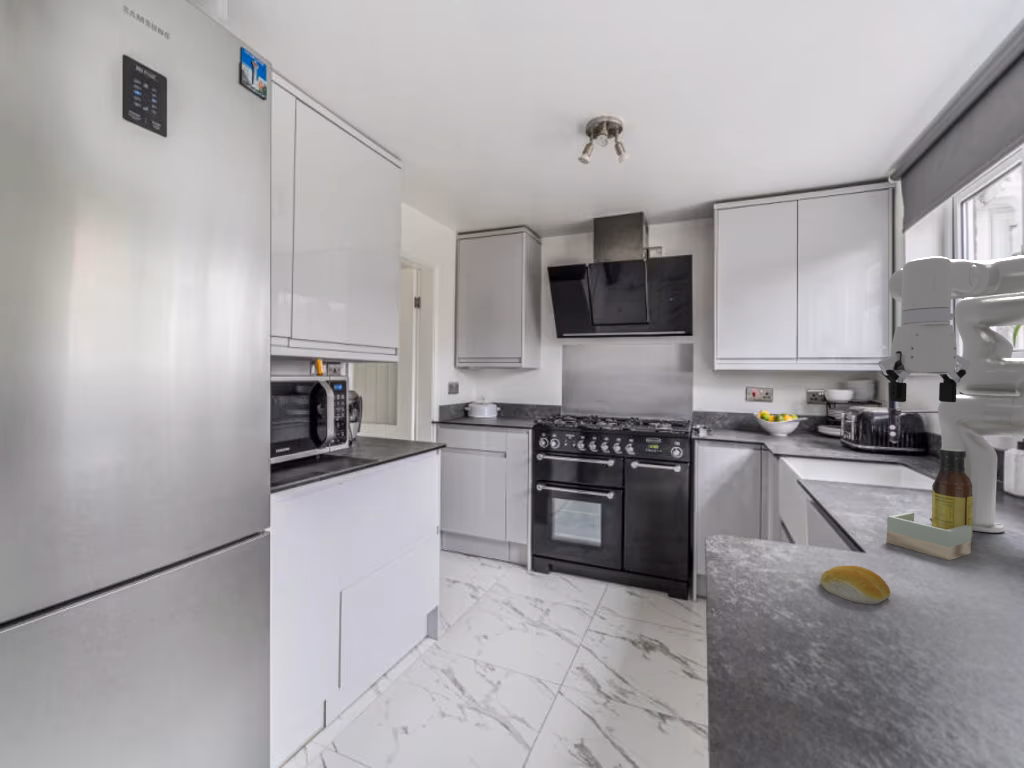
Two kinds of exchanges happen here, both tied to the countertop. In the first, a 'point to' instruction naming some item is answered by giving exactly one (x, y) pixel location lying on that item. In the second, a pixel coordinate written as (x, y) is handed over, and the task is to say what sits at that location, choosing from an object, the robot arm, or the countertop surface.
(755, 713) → the countertop surface
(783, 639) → the countertop surface
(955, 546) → the tray
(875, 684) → the countertop surface
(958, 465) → the sauce bottle
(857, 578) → the bread roll
